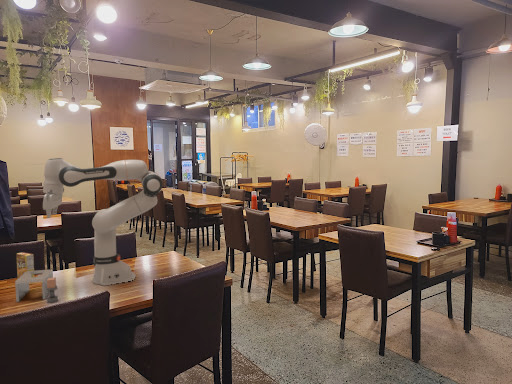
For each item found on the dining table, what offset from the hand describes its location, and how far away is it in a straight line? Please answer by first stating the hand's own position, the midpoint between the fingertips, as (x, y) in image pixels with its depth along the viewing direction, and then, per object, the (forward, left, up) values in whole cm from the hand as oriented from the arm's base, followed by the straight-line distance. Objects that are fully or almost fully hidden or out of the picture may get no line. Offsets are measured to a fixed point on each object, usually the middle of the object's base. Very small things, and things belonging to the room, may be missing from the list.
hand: (51, 216), depth 182 cm
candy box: (+18, -14, -38) cm, 44 cm away
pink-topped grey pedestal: (-4, +20, -38) cm, 43 cm away
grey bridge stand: (+6, +9, -38) cm, 39 cm away
